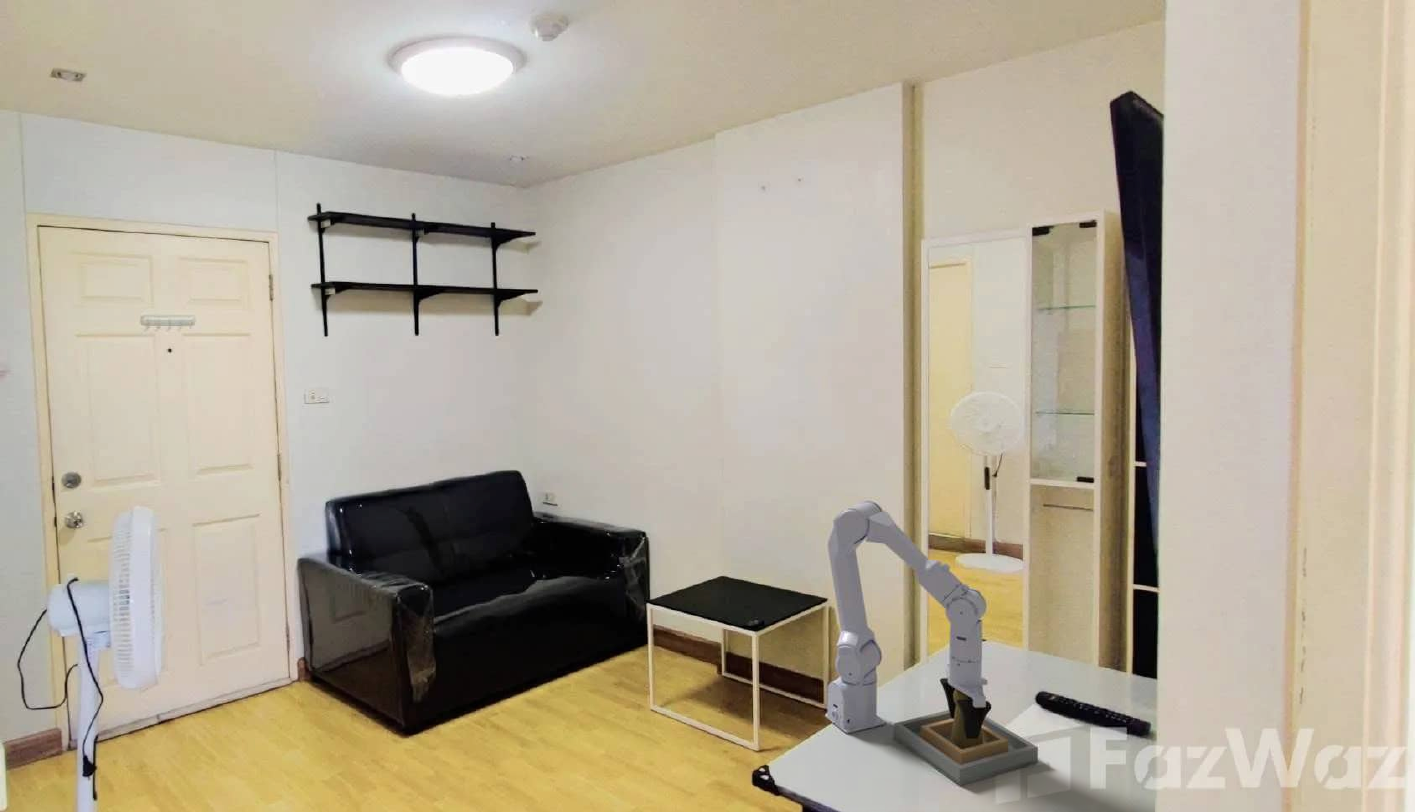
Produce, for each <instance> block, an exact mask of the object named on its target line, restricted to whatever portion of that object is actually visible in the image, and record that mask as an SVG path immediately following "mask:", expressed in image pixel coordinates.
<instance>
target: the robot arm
mask: <svg viewBox="0 0 1415 812" xmlns="http://www.w3.org/2000/svg"><path fill="white" fill-rule="evenodd" d="M832 522H833V527H832V530H831V533H830V536H829V539H828V542H827V550H828V555H829V556H828V557H829V563H830V569H831V575H832V582H833V587H834V595H835V600H836V608H837V613H838V619H839V625H840V626H839V627H840V634H839V637H838V639H837V644H836V651H837V653H836V654H837V655H836V658H835V662H834V664H835V670H836V672H837V674H838V675H839V677H838V678H836V679H835V680H832V681H830V682H829V684H828V686H827V693H826V694H827V698H826V699H827V702H826V704H827V705H826V706H827V710H826V713H825V715H824V717H825V718H827V719H828V720H829V721H830V722H832V723H833V724H834V723H835V724H834V725H835V726H837V728H839V729H840V730H842V731H843V732H844V733H846V734H849V733H854V732H858V731H862V730H863V731H864V730H866V729H870V728H874V727H875V728H876V727H879V726H883V725H886V720H885V719H883V718H882V717H880V716H878V715H877V706H878V705H877V702H878V701H877V700H878V697H877V695H878V674H877V667H878V666H880V664H881V662H882V659H883V654H882V649H881V647H880V645H879V644H878V642H877V641H876V636H875V632H874V631H873V630H872V629H871V628H870V627H869V625H868V620H867V619H868V618H867V615H866V606H865V601H864V596H863V590H862V589H863V588H862V583H861V576H860V569H859V564H858V557H857V549H858V547H859V546H860V545H861V544H862V543H863V541H865V542H866V543H875V544H883V545H885V546H886V547H887V548H888V549H890V551H892V552H893V553H894V554H895V555H897V556H898V557H899V558H900V559H901V560H902V561H903V562H904V563H906V564H907V565H908V566H909V567H910V568H911V569H912V570H913V571H915V572H916V579H917V583H918V584H919V585H920V586H921V587H923V589H924V590H926V592H928V594H929V595H930V596H931V597H932V598H933V599H934V600H935V601H936V602H937V603H939V605H941V607H942V608H944V609H945V610H944V611H945V615H946V618H947V620H948V621H949V622H950V624H949V625H950V626H949V628H950V629H949V654H948V655H949V657H948V663H946V664H945V674H946V675H947V677H945V678H944V677H943V678H939V679H940V680H939V682H940V684H941V687H942V688H943V691H944V694H945V697H946V702H947V707H948V710H949V713H950V716H951V718H952V719H954V715H955V709H956V704H955V702H954V699H953V693H954V691H955V689H957V690H959V691H961V692H962V693H964V694H966V695H968V696H969V697H968V700H957V703H958V704H959V707H960V709H961V712H962V716H963V723H964V732H965V736H966V738H967V739H978V737H979V734H980V730H981V727H982V724H983V721H984V719H985V717H987V715H988V714H989V712H990V711H991V709H992V704H991V703H990V702H989V700H987V697H986V695H985V694H984V686H986V685H988V684H989V683H988V680H987V678H985V677H984V676H982V672H983V671H982V667H983V666H982V663H983V661H982V659H983V620H982V618H983V616H984V615H985V613H986V610H987V602H986V599H985V597H984V596H983V595H982V593H981V591H980V590H978V589H976V588H973V587H972V588H971V587H970V586H969V585H968V584H967V583H963V582H962V581H961V580H960V579H959V578H958V577H957V576H956V575H955V574H953V572H952V571H951V570H950V569H951V567H950V565H949V564H948V563H947V562H944V563H942V562H941V560H938V559H937V560H935V559H929V558H928V556H926V554H925V553H923V551H922V549H920V548H919V547H918V546H917V545H916V544H915V543H914V542H913V541H912V540H911V538H909V537H908V535H906V533H905V532H904V531H903V530H902V529H901V528H900V526H898V524H896V522H895V521H894V519H893V517H892V516H891V515H890V513H888V512H887V511H885V510H883V508H882V506H880V504H878V503H877V502H876V501H872V500H864V501H862V502H860V503H859V504H856V505H853V506H851V507H847V508H844V509H843V510H841V511H840V512H839V513H838V514H837V516H835V517H834V518H833V521H832Z"/></svg>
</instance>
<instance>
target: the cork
mask: <svg viewBox="0 0 1415 812" xmlns="http://www.w3.org/2000/svg"><path fill="white" fill-rule="evenodd" d="M968 697H969V696H968V695H966V694H964V693H962V692H961V691H959V690H957V689H955V691H954V693H953V699H954V702H955V704H956V709H955V715H954V721H953V727H952V733H951V740H950V742H951V743H953V744H954V745H956V746H957V747H959V748H960V749H962V750H963V749H966V748H970V747H974V746H978V745H981V744H983V737H982V728H981V730H980V734H979V737H978V739H967V738H966V736H965V732H964V723H963V716H962V712H961V709H960V707H959V704H958V703H957V700H968Z"/></svg>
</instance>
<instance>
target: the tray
mask: <svg viewBox="0 0 1415 812" xmlns="http://www.w3.org/2000/svg"><path fill="white" fill-rule="evenodd" d="M953 721H954V719H952V718H951V716H950V713H949V709H948V710H944V711H940V712H935V713H932V714H927V715H923V716H919V717H914V718H911V719H906V720H903V721H898V722H894V725H893V739H894V740H896V741H897V742H898V743H900V744H901V745H903V746H904V747H905V748H906V749H908V750H910V751H911V752H912V753H913V754H915V755H916V756H917V757H919V758H921V760H923V761H924V762H926V763H927V764H929V765H930V766H931V767H933V768H934V769H935V770H937V771H938V772H939V773H941V774H942V775H943V776H945V777H946V778H947V779H949V780H950V781H952V782H953V783H955V785H957V786H958V787H961V786H965V785H968V784H971V783H975V782H977V781H981V780H985V779H989V778H991V777H995V776H998V775H1001V774H1006V773H1009V772H1012V771H1016V770H1019V769H1022V768H1026V767H1030V766H1033V765H1036V764H1038V760H1039V759H1038V756H1039V755H1038V753H1039V747H1038V746H1036V745H1035V744H1033V743H1032V742H1030V741H1028V740H1027V739H1025V738H1023V737H1021V736H1020V735H1018V734H1017V733H1014V732H1013V731H1011V730H1009V729H1008V728H1006V727H1005V726H1003V725H1000V723H997V722H996V721H994V720H993V719H991V718H989V717H988V716H986V717H985V719H984V721H983V724H982V727H981V728H982V737H983V744H981V745H978V746H974V747H970V748H966V749H963V750H962V749H960V748H959V747H957V746H956V745H954V744H953V743H951V742H950V740H951V733H952V727H953Z"/></svg>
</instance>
